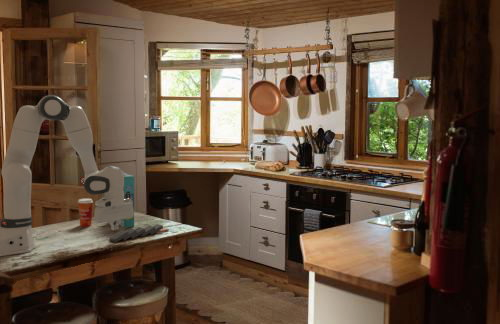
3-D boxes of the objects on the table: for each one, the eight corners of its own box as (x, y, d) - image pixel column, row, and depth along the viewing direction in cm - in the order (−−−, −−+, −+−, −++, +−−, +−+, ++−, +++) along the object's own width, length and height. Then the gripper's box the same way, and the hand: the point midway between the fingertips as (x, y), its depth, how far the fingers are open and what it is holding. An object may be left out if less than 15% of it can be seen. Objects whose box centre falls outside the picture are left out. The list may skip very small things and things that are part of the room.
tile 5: (150, 232, 274) (162, 225, 279) (144, 230, 277) (157, 223, 282) (151, 235, 274) (163, 228, 280) (145, 233, 277) (157, 226, 283)
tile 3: (131, 235, 266) (144, 228, 271) (126, 234, 269) (139, 227, 274) (132, 238, 266) (145, 231, 272) (127, 237, 269) (139, 230, 274)
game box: (111, 220, 306) (110, 171, 303) (122, 219, 310) (121, 171, 307) (123, 227, 289) (122, 176, 286) (134, 226, 292) (134, 175, 289)
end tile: (156, 231, 277) (168, 229, 283) (150, 230, 280) (162, 227, 286) (156, 234, 277) (168, 232, 283) (150, 233, 280) (162, 230, 286)
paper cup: (75, 226, 290) (74, 200, 288) (84, 223, 297) (83, 197, 296) (87, 227, 287) (87, 201, 286) (96, 224, 294) (96, 199, 293)
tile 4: (141, 233, 270) (154, 226, 275) (136, 232, 273) (149, 225, 278) (142, 236, 270) (155, 229, 275) (137, 235, 273) (150, 228, 278)
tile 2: (123, 237, 262) (136, 229, 267) (117, 236, 265) (130, 228, 270) (124, 240, 262) (136, 232, 268) (118, 239, 265) (131, 231, 271)
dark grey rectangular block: (115, 239, 258) (127, 231, 264) (109, 237, 261) (122, 229, 266) (115, 242, 259) (128, 234, 264) (110, 240, 261) (123, 232, 267)
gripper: (128, 197, 269) (128, 225, 270) (92, 202, 253) (92, 232, 255) (136, 198, 265) (136, 227, 266) (100, 204, 249) (100, 234, 251)
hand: (114, 229), depth 260 cm, fingers closed
